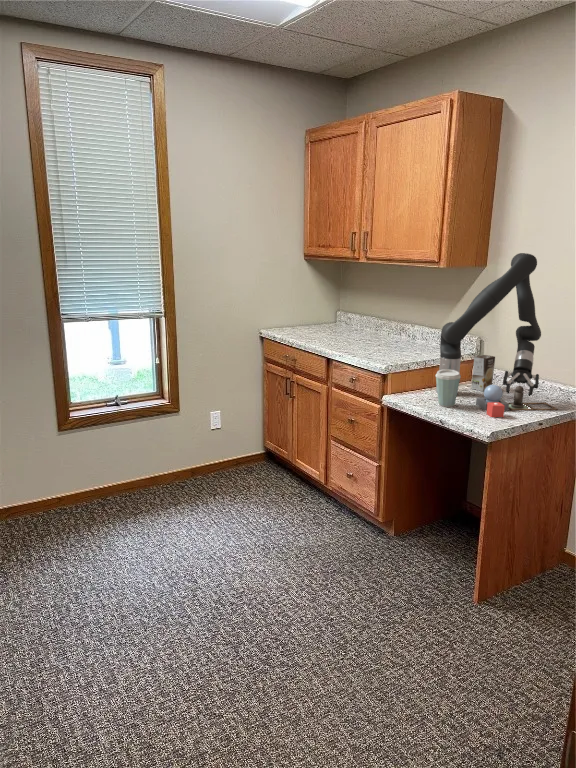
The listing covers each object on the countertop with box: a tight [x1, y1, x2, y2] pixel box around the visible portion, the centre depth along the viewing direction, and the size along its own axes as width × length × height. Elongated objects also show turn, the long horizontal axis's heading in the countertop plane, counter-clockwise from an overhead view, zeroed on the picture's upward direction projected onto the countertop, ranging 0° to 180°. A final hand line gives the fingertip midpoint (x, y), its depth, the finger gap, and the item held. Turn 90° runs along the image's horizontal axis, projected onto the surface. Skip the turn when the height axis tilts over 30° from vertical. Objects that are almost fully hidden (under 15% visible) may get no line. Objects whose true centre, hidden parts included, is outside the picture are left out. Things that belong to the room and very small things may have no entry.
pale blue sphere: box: [483, 384, 504, 402], centre depth 241 cm, size 8×8×9 cm
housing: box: [475, 397, 509, 412], centre depth 242 cm, size 10×10×3 cm
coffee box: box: [470, 354, 496, 392], centre depth 272 cm, size 9×6×16 cm
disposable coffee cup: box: [435, 369, 462, 408], centre depth 243 cm, size 11×11×15 cm
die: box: [486, 402, 505, 419], centre depth 230 cm, size 5×5×5 cm
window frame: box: [507, 401, 559, 412], centre depth 244 cm, size 21×10×1 cm, turn 94°
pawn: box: [511, 385, 524, 408], centre depth 242 cm, size 5×5×9 cm
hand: (518, 393), depth 241 cm, fingers open, 8 cm apart
